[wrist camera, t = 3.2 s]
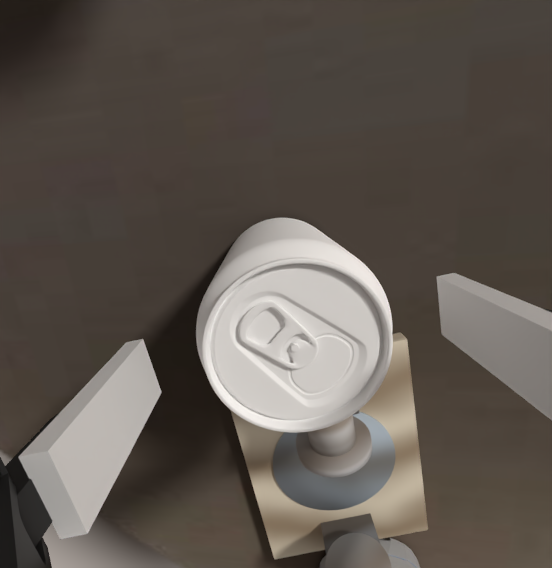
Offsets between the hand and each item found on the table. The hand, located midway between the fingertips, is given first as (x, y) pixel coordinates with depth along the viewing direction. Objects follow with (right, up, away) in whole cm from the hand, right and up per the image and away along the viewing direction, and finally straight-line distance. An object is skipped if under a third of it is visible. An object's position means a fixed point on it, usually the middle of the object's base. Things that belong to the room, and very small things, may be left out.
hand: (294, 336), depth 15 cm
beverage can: (0, +3, +9) cm, 10 cm away
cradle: (+4, -12, +14) cm, 18 cm away
